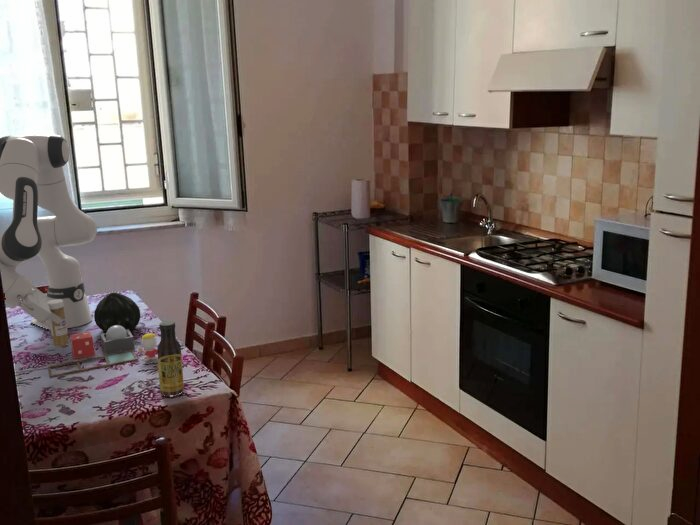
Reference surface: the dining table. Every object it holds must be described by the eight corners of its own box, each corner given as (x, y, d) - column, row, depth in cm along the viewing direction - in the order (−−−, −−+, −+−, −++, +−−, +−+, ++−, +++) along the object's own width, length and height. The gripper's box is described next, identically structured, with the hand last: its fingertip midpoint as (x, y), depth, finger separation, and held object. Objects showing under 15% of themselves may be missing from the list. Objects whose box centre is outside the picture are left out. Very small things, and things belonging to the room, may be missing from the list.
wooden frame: (49, 377, 203) (49, 376, 203) (47, 367, 211) (47, 366, 211) (138, 360, 214) (138, 358, 214) (133, 351, 221) (132, 349, 221)
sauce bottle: (162, 400, 184) (154, 328, 180) (158, 391, 190) (150, 322, 185) (187, 395, 187) (180, 324, 182) (183, 386, 193) (175, 317, 188)
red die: (74, 358, 217) (72, 340, 216) (72, 352, 223) (69, 334, 221) (95, 354, 220) (92, 336, 218) (92, 349, 225) (90, 331, 224)
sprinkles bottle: (65, 347, 205) (58, 303, 202) (50, 347, 205) (43, 303, 202) (72, 341, 209) (65, 298, 206) (57, 341, 210) (50, 298, 206)
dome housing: (106, 354, 220) (104, 342, 219) (102, 345, 228) (100, 334, 227) (134, 348, 224) (133, 336, 223) (129, 340, 231) (128, 329, 231)
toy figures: (177, 352, 219) (175, 327, 217) (180, 357, 215) (177, 331, 213) (138, 359, 215) (134, 333, 213) (139, 364, 211) (136, 337, 209)
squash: (130, 304, 253) (101, 281, 242) (155, 313, 244) (127, 289, 233) (106, 338, 247) (76, 315, 237) (131, 347, 238) (101, 324, 228)
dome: (103, 346, 224) (100, 327, 223) (118, 340, 230) (115, 321, 228) (117, 349, 221) (115, 330, 220) (132, 342, 227) (130, 323, 225)
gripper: (26, 292, 190) (70, 319, 197) (23, 275, 208) (63, 301, 215) (11, 310, 190) (55, 337, 196) (9, 292, 207) (49, 317, 214)
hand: (59, 318), depth 206 cm, fingers closed on sprinkles bottle, 4 cm apart
